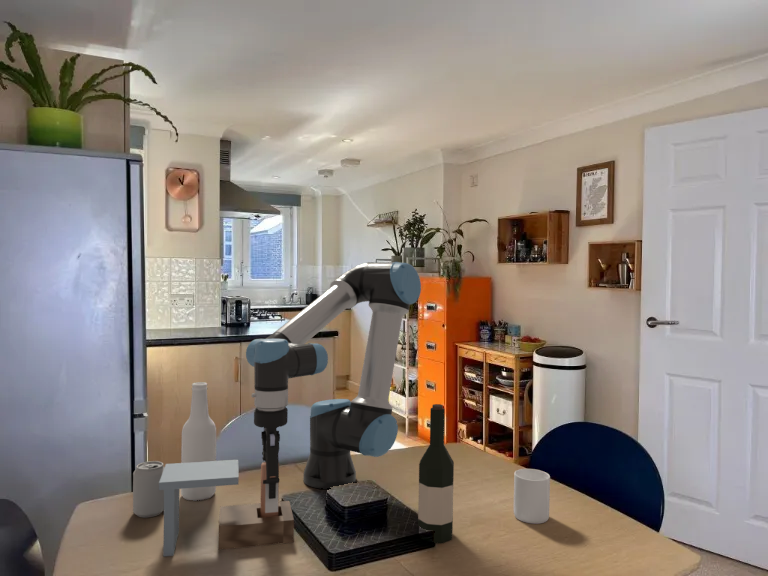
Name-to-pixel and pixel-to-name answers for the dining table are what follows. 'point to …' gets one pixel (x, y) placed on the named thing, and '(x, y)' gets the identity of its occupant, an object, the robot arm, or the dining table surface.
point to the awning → (190, 477)
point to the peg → (263, 477)
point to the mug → (531, 495)
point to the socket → (254, 526)
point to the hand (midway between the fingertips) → (269, 499)
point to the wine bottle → (436, 482)
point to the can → (148, 489)
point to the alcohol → (198, 439)
